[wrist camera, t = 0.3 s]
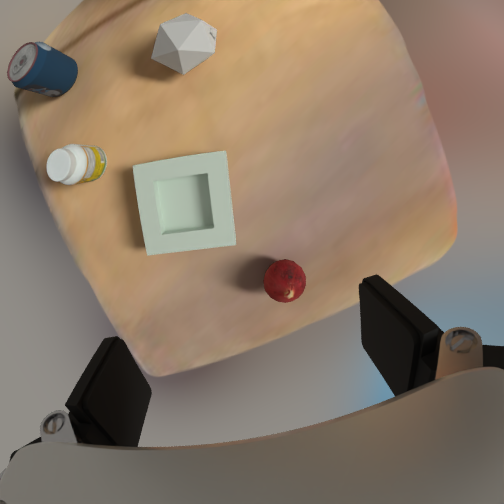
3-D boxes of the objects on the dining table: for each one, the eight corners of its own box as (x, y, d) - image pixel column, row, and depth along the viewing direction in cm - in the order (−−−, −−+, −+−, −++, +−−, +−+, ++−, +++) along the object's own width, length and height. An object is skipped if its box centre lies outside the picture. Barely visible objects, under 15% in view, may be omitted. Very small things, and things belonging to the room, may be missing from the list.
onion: (266, 249, 41) (274, 269, 33) (303, 256, 41) (318, 277, 34) (257, 285, 42) (262, 311, 35) (293, 291, 43) (305, 317, 35)
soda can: (74, 52, 28) (35, 29, 17) (86, 79, 30) (44, 58, 19) (44, 79, 29) (1, 64, 18) (54, 106, 31) (8, 96, 20)
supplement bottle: (113, 152, 35) (81, 150, 26) (100, 186, 36) (67, 193, 27) (85, 141, 34) (50, 138, 24) (74, 174, 35) (38, 179, 26)
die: (195, 90, 34) (231, 51, 26) (137, 77, 29) (162, 29, 21) (199, 52, 34) (233, 14, 26) (148, 39, 29) (174, -6, 21)
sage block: (142, 165, 36) (132, 165, 32) (226, 152, 36) (225, 150, 32) (154, 247, 39) (147, 255, 36) (235, 237, 40) (236, 244, 36)
